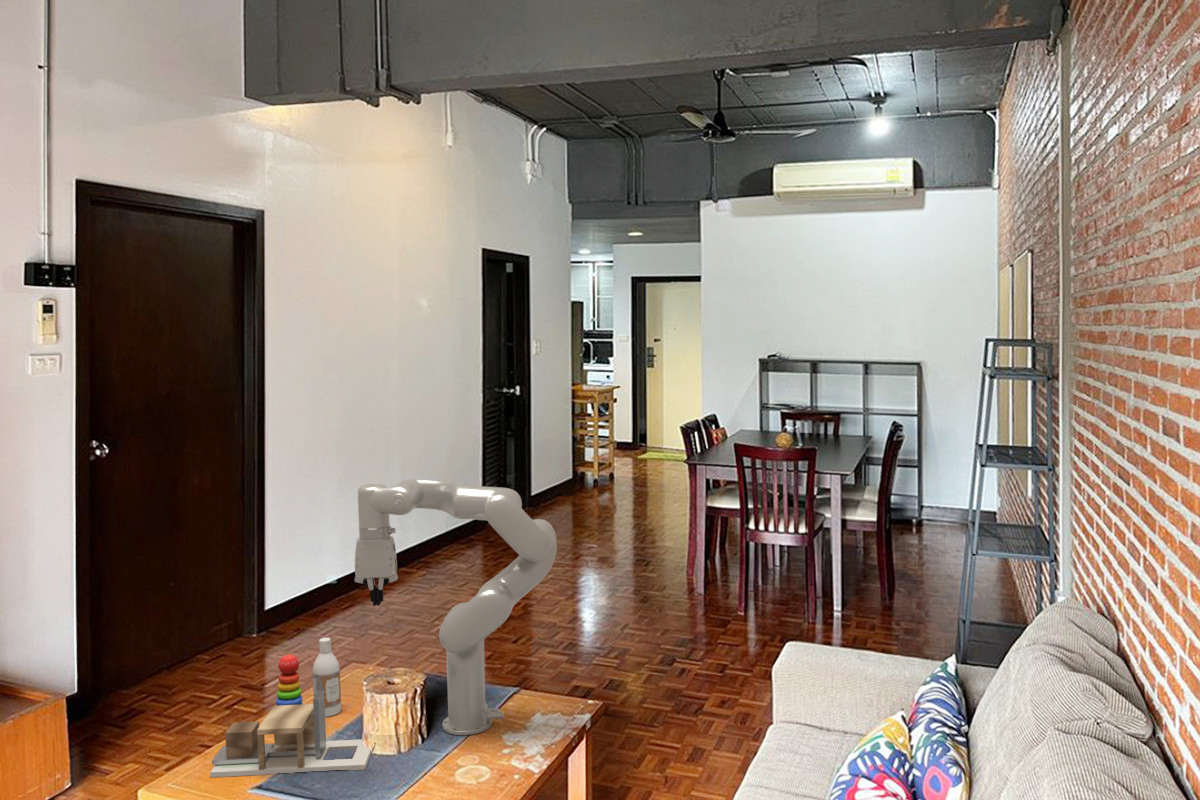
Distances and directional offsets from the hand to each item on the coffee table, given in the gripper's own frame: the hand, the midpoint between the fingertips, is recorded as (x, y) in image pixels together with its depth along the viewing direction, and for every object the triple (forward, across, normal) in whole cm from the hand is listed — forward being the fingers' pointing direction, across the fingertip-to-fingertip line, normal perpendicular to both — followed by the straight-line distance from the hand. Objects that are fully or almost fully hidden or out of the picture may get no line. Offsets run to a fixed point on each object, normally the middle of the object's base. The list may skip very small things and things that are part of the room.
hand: (377, 604), depth 239 cm
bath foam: (+32, +16, -11) cm, 38 cm away
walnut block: (+30, +30, +17) cm, 45 cm away
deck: (+32, +17, +17) cm, 40 cm away
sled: (+30, +23, +17) cm, 42 cm away
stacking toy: (+32, +24, -3) cm, 40 cm away
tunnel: (+31, +19, +17) cm, 40 cm away
